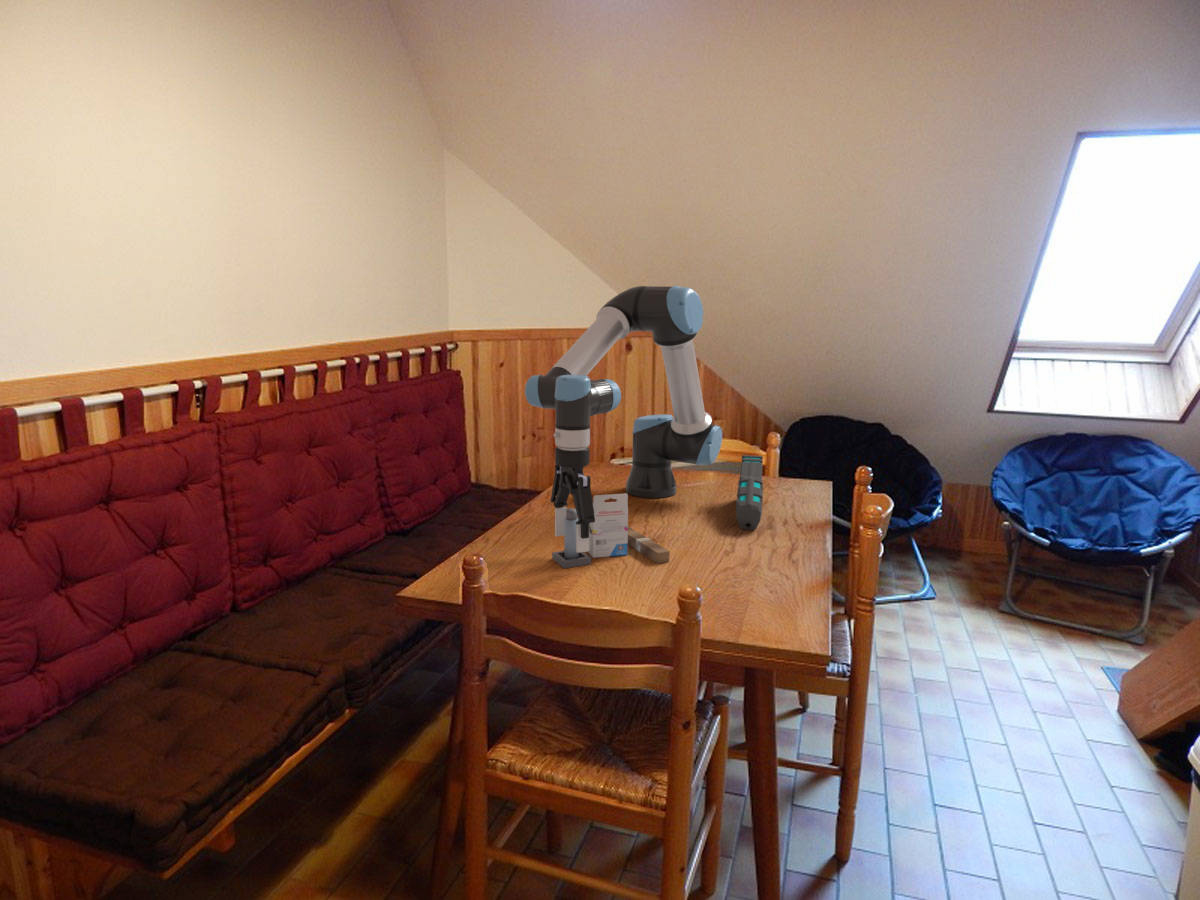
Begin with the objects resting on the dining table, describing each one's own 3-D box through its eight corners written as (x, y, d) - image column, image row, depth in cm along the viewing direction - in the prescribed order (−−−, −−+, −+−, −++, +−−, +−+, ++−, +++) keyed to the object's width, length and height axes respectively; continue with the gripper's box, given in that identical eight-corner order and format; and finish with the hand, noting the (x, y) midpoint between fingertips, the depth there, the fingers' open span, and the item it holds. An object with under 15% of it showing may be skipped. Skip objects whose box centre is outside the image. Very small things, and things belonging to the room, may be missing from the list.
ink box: (621, 548, 181) (622, 487, 178) (627, 555, 176) (629, 493, 173) (586, 551, 179) (587, 489, 176) (592, 558, 174) (592, 495, 171)
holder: (552, 558, 173) (552, 552, 173) (578, 554, 176) (578, 548, 176) (563, 568, 168) (563, 561, 167) (591, 564, 170) (591, 557, 170)
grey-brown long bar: (609, 532, 192) (609, 522, 192) (620, 531, 194) (620, 521, 193) (657, 563, 171) (657, 552, 171) (669, 561, 173) (669, 550, 172)
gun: (761, 494, 224) (764, 449, 217) (759, 556, 199) (762, 508, 192) (739, 492, 226) (740, 448, 218) (734, 554, 201) (735, 506, 193)
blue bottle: (562, 560, 173) (562, 509, 170) (575, 557, 174) (575, 507, 171) (567, 564, 170) (567, 513, 167) (580, 562, 171) (581, 511, 168)
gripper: (536, 438, 175) (536, 529, 180) (579, 459, 154) (578, 562, 159) (566, 435, 178) (565, 526, 183) (612, 456, 158) (610, 557, 162)
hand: (571, 543), depth 171 cm, fingers open, 11 cm apart
